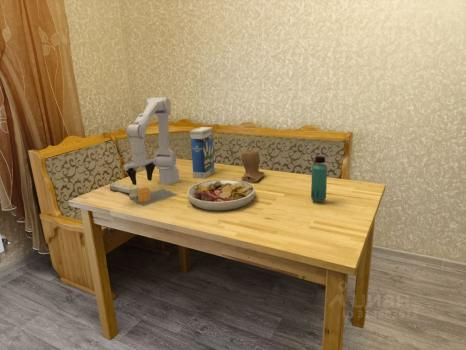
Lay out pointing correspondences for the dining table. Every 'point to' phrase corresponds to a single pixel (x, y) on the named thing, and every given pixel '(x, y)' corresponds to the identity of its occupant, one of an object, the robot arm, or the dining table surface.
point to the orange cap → (143, 195)
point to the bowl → (221, 194)
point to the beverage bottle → (319, 180)
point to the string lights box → (202, 152)
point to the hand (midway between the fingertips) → (142, 182)
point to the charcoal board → (156, 197)
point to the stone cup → (251, 165)
